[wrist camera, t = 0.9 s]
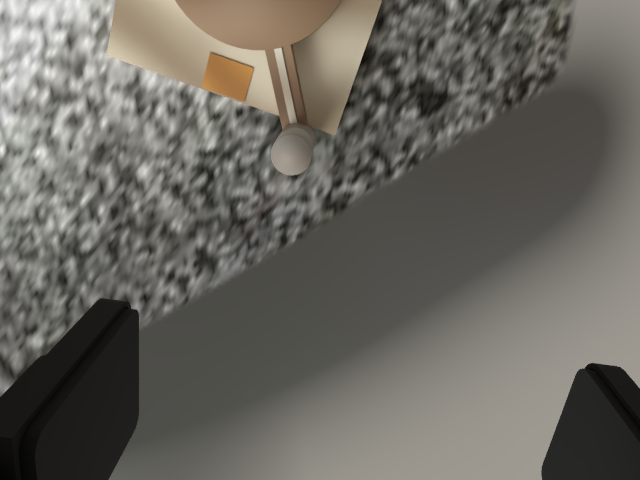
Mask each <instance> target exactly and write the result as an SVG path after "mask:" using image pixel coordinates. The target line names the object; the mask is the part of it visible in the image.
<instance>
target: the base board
mask: <svg viewBox="0 0 640 480" xmlns="http://www.w3.org/2000/svg"><path fill="white" fill-rule="evenodd" d="M381 2H382V0H341V2H340V4H339V6H338V7H337V9H336V10H335V11H334V13H333V14H332V16H331V17H330V18H329V19H328V20H327V21H326V22H325V23H324V24H323V26H321V27H320V28H319V29H318V30H317V31H315V32H314V33H313V34H311V35H310V36H308V37H307V38H305V39H303V40H301V41H299V42H297V43H295V44H293V50H294V55H295V60H296V65H297V70H298V75H299V79H300V84H301V89H302V94H303V99H304V104H305V109H306V114H307V119H308V124H309V125H310V126H311V127H313V128H316V129H318V130H321V131H324V132H327V133H330V134H333V135H335V134H336V131H337V128H338V125H339V122H340V119H341V117H342V114H343V111H344V108H345V105H346V102H347V99H348V97H349V94H350V91H351V88H352V85H353V82H354V79H355V77H356V74H357V71H358V68H359V65H360V62H361V59H362V57H363V54H364V51H365V48H366V45H367V42H368V39H369V37H370V34H371V31H372V28H373V25H374V22H375V19H376V17H377V14H378V11H379V8H380V5H381ZM107 56H110V57H113V58H116V59H118V60H121V61H124V62H127V63H130V64H133V65H136V66H138V67H141V68H144V69H147V70H150V71H153V72H156V73H158V74H161V75H164V76H167V77H170V78H173V79H176V80H178V81H181V82H184V83H187V84H190V85H193V86H196V87H198V88H201V89H204V90H207V91H210V92H213V93H216V94H218V95H221V96H224V97H227V98H230V99H233V100H236V101H238V102H241V103H244V104H247V105H250V106H253V107H256V108H258V109H261V110H264V111H267V112H270V113H273V114H276V115H278V116H279V112H278V107H277V103H276V98H275V94H274V89H273V84H272V80H271V75H270V71H269V66H268V62H267V57H266V53H265V50H248V49H241V48H237V47H234V46H230V45H228V44H225V43H223V42H221V41H218V40H216V39H215V38H213V37H211V36H210V35H208V34H206V33H205V32H204V31H202V30H201V29H200V28H199V27H197V26H196V25H195V24H194V23H193V22H192V21H191V20H190V19H189V18H188V17H187V16H186V15H185V13H184V12H183V11H182V10H181V8H180V7H179V6H178V4H177V3H176V1H175V0H116V4H115V9H114V15H113V21H112V27H111V33H110V38H109V44H108V50H107Z"/></svg>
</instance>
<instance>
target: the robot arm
mask: <svg viewBox="0 0 640 480" xmlns="http://www.w3.org/2000/svg"><path fill="white" fill-rule="evenodd" d="M138 415H139V313H138V311H137V310H134V309H131V306H130V303H129V302H126V301H119V300H111V299H104V298H100V299H99V300H98V301H97V302H96V303H95V304H94V305H93V306H92V307H91V308H90V309H89V310H88V311H87V312H86V313H85V314H84V315H83V316H82V318H81V319H80V320H79V321H78V322H77V323H76V324H75V325H74V326H73V327H72V328H71V329H70V330H69V331H68V332H67V333H66V335H65V336H64V337H63V338H62V339H61V340H60V341H59V342H58V343H57V344H56V345H55V346H54V347H53V348H52V349H51V350H50V352H49V353H48V354H47V355H44V356H41V357H40V358H38V359H37V360H36V361H35V362H34V363H33V364H32V365H31V366H30V367H29V368H28V369H27V370H26V371H25V372H24V373H23V374H22V375H21V376H20V377H19V378H18V380H17V381H16V382H15V383H14V384H13V385H12V386H11V387H10V388H9V389H8V390H7V391H6V392H5V393H4V394H3V395H2V396H1V397H0V480H108V479H109V478H110V476H111V474H112V472H113V470H114V468H115V466H116V464H117V462H118V460H119V459H120V457H121V455H122V453H123V451H124V449H125V447H126V446H127V444H128V442H129V440H130V438H131V436H132V434H133V432H134V430H135V428H136V425H137V421H138ZM542 480H640V388H638V386H637V385H636V384H635V383H634V381H633V380H632V379H631V378H630V377H629V376H628V374H627V373H626V372H625V371H624V370H623V369H622V368H621V367H617V366H610V365H602V364H595V363H591V364H588V365H587V366H586V367H585V369H580V370H579V371H578V372H577V374H576V376H575V379H574V381H573V384H572V387H571V389H570V392H569V395H568V398H567V400H566V403H565V406H564V408H563V411H562V414H561V416H560V419H559V422H558V424H557V427H556V430H555V433H554V435H553V438H552V441H551V443H550V446H549V449H548V451H547V454H546V457H545V460H544V462H543V465H542Z"/></svg>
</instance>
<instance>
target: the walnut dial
mask: <svg viewBox="0 0 640 480" xmlns="http://www.w3.org/2000/svg"><path fill="white" fill-rule="evenodd" d="M175 1H176V3H177V4H178V6H179V7H180V8H181V10H182V11H183V12H184V13H185V15H186V16H187V17H188V18H189V19H190V20H191V21H192V22H193V23H194V24H195V25H196V26H197V27H199V28H200V29H201V30H202V31H204V32H205V33H206V34H208V35H210V36H211V37H213V38H215V39H216V40H218V41H221V42H223V43H225V44H228V45H230V46H234V47H237V48H241V49H248V50H265V53H266V57H267V62H268V66H269V71H270V75H271V80H272V84H273V89H274V94H275V98H276V103H277V107H278V112H279V116H280V121H281V125H282V130H283V131H282V132H281V134H280V135H279V137H278V139H277V140H276V142H275V143H274V145H273V147H272V150H271V160H272V163H273V165H274V166H275V168H276V169H277V170H278V171H280V172H281V173H283V174H286V175H297V174H300V173H302V172H303V171H304V170H305V169H306V168H307V167H308V166H309V164H310V161H311V157H312V153H313V149H314V145H315V140H316V136H315V132H314V130H313V128H312V127H311V126H310V125H309V124H308V119H307V114H306V109H305V104H304V99H303V94H302V89H301V84H300V79H299V75H298V70H297V65H296V60H295V55H294V50H293V44H295V43H297V42H299V41H301V40H303V39H305V38H307V37H308V36H310V35H311V34H313V33H314V32H315V31H317V30H318V29H319V28H320V27H321V26H323V24H324V23H325V22H326V21H327V20H328V19H329V18H330V17H331V16H332V14H333V13H334V11H335V10H336V9H337V7H338V6H339V4H340V2H341V0H175Z"/></svg>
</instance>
